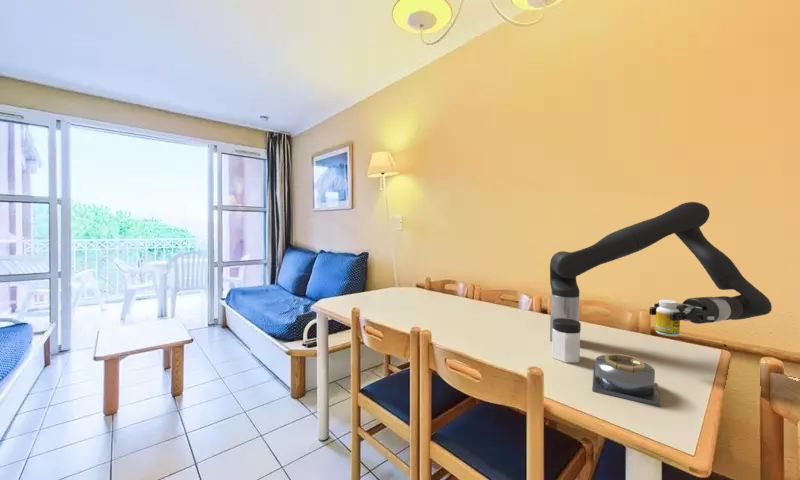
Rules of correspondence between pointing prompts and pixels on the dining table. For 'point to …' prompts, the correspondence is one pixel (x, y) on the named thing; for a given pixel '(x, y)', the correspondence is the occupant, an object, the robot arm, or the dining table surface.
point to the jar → (566, 340)
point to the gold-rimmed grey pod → (625, 378)
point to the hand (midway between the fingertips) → (661, 314)
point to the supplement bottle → (667, 319)
